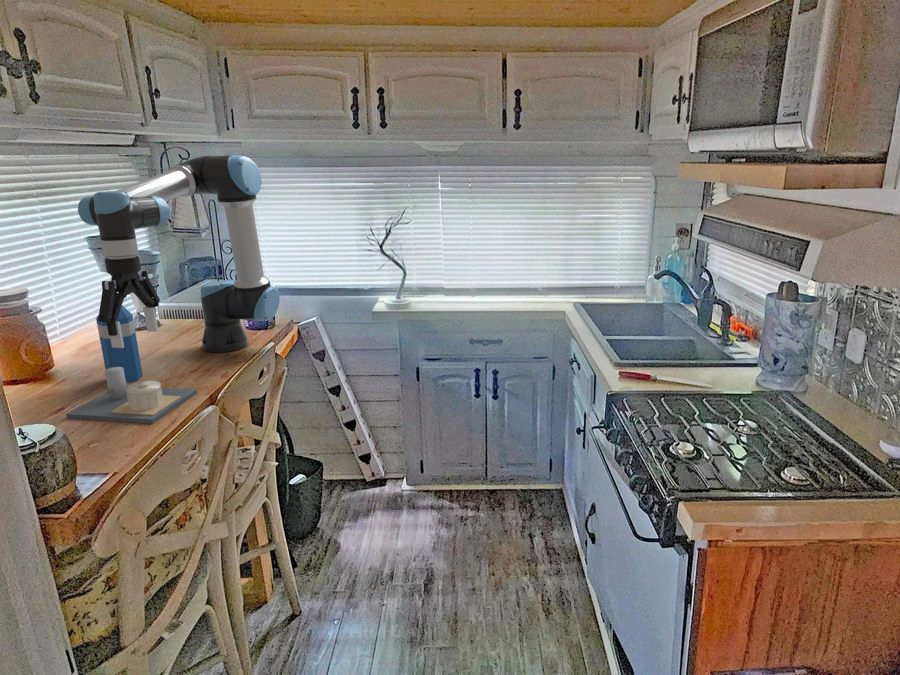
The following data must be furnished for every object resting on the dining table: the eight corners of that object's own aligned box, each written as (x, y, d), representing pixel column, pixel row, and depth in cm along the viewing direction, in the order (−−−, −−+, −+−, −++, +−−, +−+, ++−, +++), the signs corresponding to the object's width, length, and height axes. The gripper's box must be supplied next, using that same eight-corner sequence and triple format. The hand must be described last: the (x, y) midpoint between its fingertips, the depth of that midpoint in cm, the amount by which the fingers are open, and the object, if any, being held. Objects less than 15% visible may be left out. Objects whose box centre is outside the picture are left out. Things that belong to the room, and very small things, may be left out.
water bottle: (143, 380, 174) (129, 299, 167) (107, 386, 169) (92, 303, 162) (141, 371, 182) (128, 293, 174) (107, 376, 177) (92, 296, 170)
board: (119, 389, 167) (114, 358, 165) (197, 393, 164) (192, 362, 162) (66, 418, 148) (59, 384, 146) (153, 423, 145) (147, 389, 143)
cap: (164, 396, 158) (161, 376, 157) (162, 407, 151) (158, 386, 150) (131, 400, 155) (127, 380, 154) (127, 412, 148) (123, 391, 147)
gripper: (140, 248, 154) (153, 324, 161) (69, 265, 131) (87, 354, 137) (166, 248, 153) (178, 325, 160) (99, 266, 130) (116, 355, 136)
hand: (136, 339), depth 148 cm, fingers open, 13 cm apart
